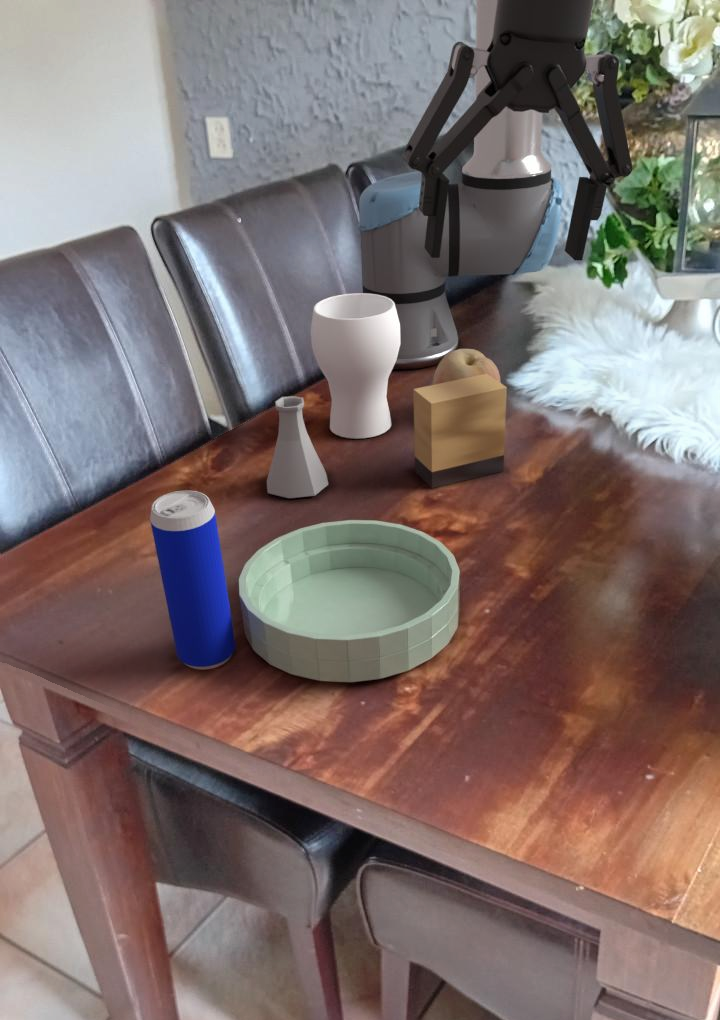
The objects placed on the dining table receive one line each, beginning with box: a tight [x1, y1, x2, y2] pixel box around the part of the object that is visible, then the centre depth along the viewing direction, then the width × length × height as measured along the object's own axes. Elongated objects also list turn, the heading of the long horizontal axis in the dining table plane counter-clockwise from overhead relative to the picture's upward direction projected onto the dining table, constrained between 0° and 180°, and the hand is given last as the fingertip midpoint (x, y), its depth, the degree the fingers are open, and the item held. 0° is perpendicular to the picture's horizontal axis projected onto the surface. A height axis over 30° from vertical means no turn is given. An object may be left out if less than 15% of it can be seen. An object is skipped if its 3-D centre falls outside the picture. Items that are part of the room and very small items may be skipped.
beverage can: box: [149, 490, 237, 671], centre depth 84 cm, size 5×5×15 cm
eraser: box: [413, 374, 508, 489], centre depth 111 cm, size 9×4×10 cm, turn 112°
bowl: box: [238, 519, 461, 683], centre depth 90 cm, size 19×19×5 cm
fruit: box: [432, 348, 502, 385], centre depth 124 cm, size 8×8×8 cm
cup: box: [310, 292, 401, 440], centre depth 121 cm, size 11×11×15 cm
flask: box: [266, 395, 329, 499], centre depth 110 cm, size 7×7×10 cm
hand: (503, 254), depth 92 cm, fingers open, 13 cm apart
